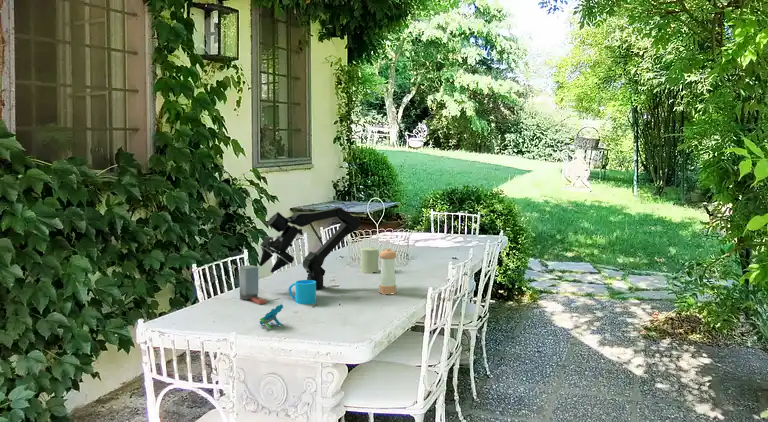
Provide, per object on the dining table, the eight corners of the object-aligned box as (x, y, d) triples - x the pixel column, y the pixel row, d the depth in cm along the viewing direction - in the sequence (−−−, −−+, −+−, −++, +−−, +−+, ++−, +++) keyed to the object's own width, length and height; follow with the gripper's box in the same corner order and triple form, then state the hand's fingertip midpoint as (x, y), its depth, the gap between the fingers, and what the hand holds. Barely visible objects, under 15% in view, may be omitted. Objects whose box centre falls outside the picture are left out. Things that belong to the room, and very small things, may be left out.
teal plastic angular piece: (271, 315, 231) (285, 299, 226) (282, 327, 230) (296, 312, 225) (251, 326, 222) (265, 310, 217) (262, 340, 221) (276, 323, 216)
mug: (319, 300, 261) (319, 280, 260) (309, 305, 253) (309, 284, 252) (293, 297, 265) (293, 278, 264) (283, 302, 258) (283, 282, 257)
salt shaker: (398, 292, 277) (399, 248, 275) (391, 295, 270) (392, 250, 269) (383, 290, 280) (384, 246, 278) (376, 293, 274) (376, 249, 272)
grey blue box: (252, 291, 267) (251, 265, 266) (258, 293, 263) (258, 267, 261) (239, 293, 263) (239, 266, 262) (245, 295, 259) (245, 268, 258)
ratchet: (252, 295, 268) (252, 283, 268) (270, 302, 256) (270, 290, 256) (236, 297, 264) (236, 285, 263) (254, 305, 252) (253, 292, 251)
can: (382, 271, 323) (382, 247, 322) (371, 274, 315) (372, 249, 314) (366, 269, 328) (367, 245, 327) (356, 271, 320) (356, 248, 319)
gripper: (262, 223, 276) (241, 253, 272) (286, 234, 262) (264, 266, 259) (279, 236, 283) (259, 265, 280) (303, 247, 269) (282, 279, 266)
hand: (265, 269), depth 271 cm, fingers open, 9 cm apart
